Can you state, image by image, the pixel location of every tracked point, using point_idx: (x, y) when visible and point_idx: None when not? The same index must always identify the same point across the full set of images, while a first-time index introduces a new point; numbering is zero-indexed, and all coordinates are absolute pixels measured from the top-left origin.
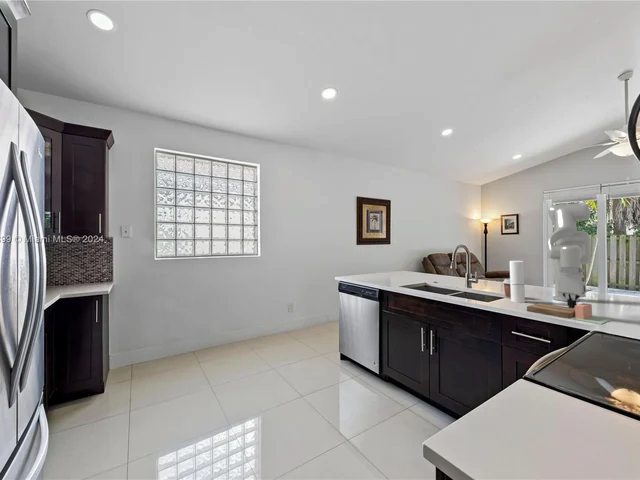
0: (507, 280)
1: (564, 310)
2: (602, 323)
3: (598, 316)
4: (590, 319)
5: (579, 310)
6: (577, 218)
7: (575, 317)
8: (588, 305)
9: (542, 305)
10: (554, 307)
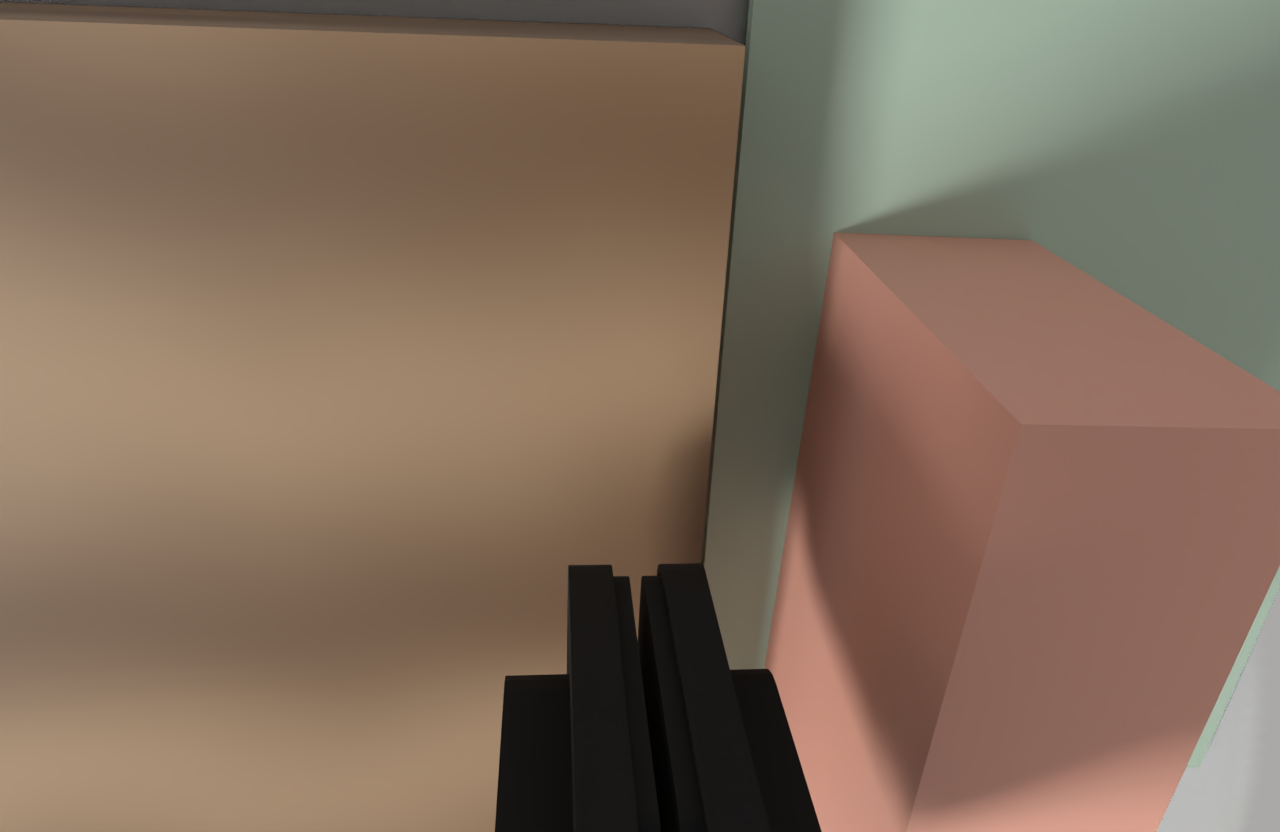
0: None
1: (460, 686)
2: (1221, 702)
3: (1176, 59)
4: None
5: None
6: None
7: (742, 655)
8: (1201, 695)
9: None
10: (8, 504)
